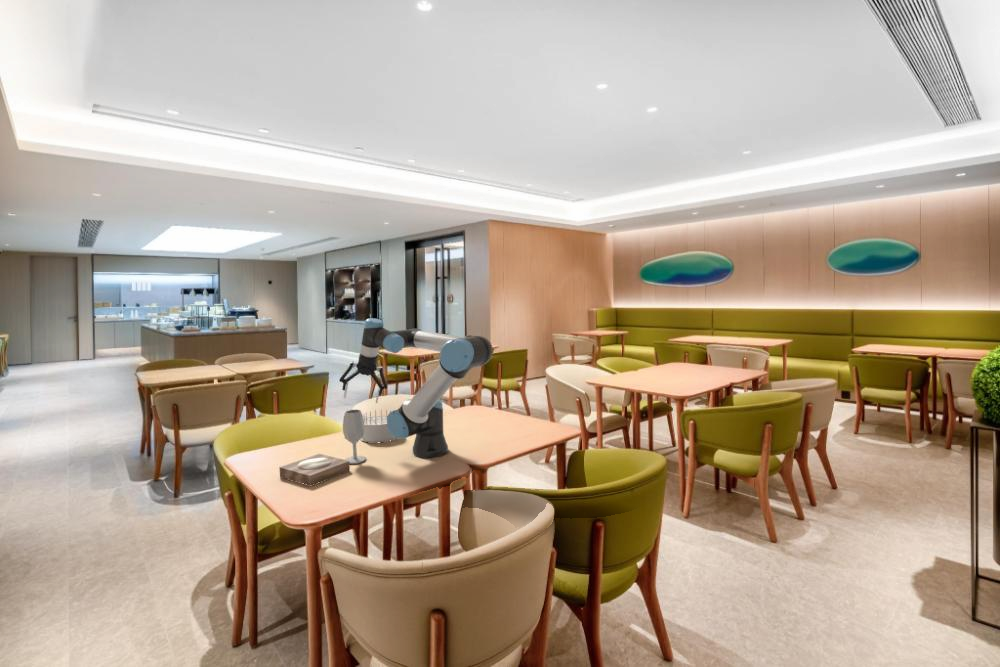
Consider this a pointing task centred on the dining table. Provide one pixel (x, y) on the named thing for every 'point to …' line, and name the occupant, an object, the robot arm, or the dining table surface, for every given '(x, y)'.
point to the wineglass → (353, 432)
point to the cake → (376, 429)
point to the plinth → (314, 469)
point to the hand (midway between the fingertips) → (360, 399)
